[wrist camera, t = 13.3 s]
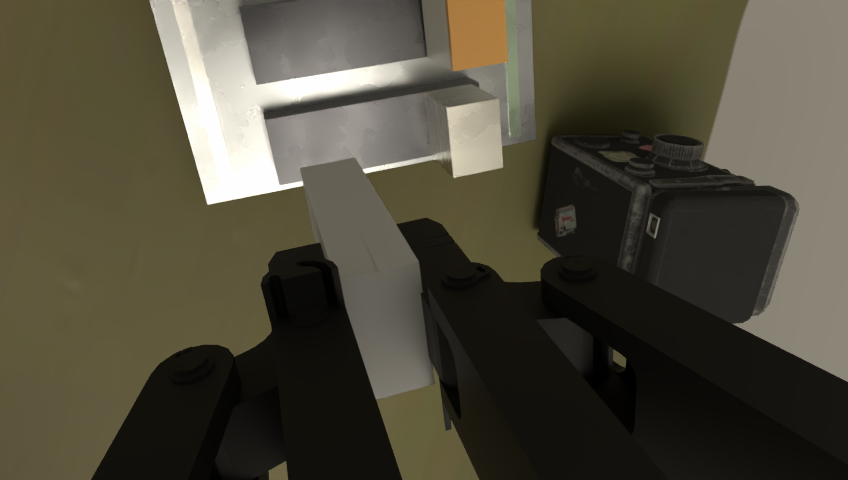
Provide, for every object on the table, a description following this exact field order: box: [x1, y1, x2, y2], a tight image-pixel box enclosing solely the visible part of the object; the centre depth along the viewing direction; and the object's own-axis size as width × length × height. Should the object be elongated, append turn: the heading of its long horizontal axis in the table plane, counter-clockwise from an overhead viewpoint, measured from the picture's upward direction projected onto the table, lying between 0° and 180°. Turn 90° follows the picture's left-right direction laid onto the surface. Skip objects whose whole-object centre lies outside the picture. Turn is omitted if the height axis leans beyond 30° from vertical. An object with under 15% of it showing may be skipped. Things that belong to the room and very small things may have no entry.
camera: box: [537, 130, 799, 324], centre depth 41 cm, size 10×11×15 cm
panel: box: [149, 0, 536, 204], centre depth 35 cm, size 22×18×8 cm
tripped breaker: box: [421, 0, 508, 71], centre depth 34 cm, size 3×4×5 cm
